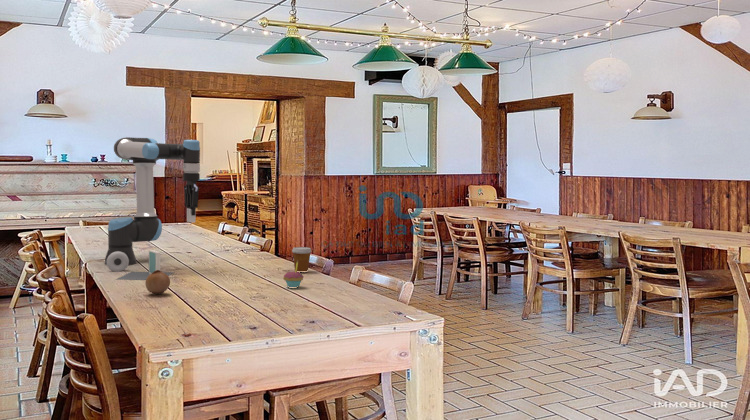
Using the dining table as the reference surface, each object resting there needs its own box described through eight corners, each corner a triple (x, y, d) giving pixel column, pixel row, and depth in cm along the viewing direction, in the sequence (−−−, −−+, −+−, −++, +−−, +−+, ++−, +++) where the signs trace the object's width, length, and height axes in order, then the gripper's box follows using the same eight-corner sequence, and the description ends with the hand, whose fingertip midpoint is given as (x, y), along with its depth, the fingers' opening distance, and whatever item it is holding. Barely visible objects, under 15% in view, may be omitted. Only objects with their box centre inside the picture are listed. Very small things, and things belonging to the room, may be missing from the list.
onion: (156, 297, 270) (156, 272, 269) (140, 294, 275) (140, 270, 274) (175, 294, 278) (175, 269, 277) (159, 291, 283) (159, 267, 282)
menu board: (153, 273, 323) (153, 249, 323) (160, 276, 315) (160, 252, 315) (148, 273, 322) (148, 250, 321) (156, 276, 314) (156, 252, 313)
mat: (131, 272, 327) (131, 271, 326) (174, 273, 327) (174, 272, 327) (115, 280, 305) (115, 279, 305) (161, 281, 305) (161, 280, 305)
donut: (128, 271, 331) (128, 250, 330) (129, 272, 328) (129, 251, 327) (106, 272, 327) (106, 251, 326) (106, 273, 324) (106, 252, 323)
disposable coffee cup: (288, 272, 338) (288, 248, 337) (297, 270, 346) (297, 246, 346) (305, 274, 334) (305, 249, 333) (314, 271, 343) (314, 247, 342)
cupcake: (306, 287, 301) (306, 259, 300) (297, 290, 293) (298, 262, 292) (288, 285, 304) (288, 258, 303) (279, 288, 296) (280, 260, 295)
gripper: (177, 172, 331) (177, 220, 333) (190, 172, 318) (189, 223, 320) (192, 172, 335) (192, 220, 337) (205, 173, 323) (205, 223, 324)
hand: (191, 221), depth 328 cm, fingers open, 3 cm apart
